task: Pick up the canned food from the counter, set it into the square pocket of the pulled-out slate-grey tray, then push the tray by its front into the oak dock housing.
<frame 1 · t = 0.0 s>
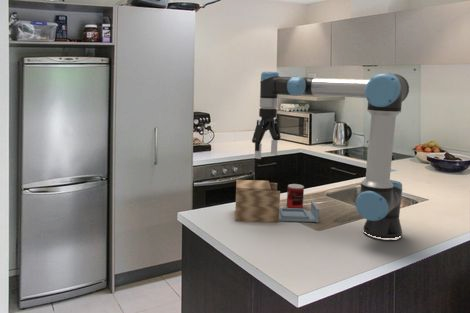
hand: (266, 156, 186), 28 cm above the worktop, fingers open, 13 cm apart
canned food: (294, 208, 208), on the worktop
housing: (257, 216, 192), on the worktop
tray: (295, 210, 192), point 3 cm above the worktop, slide at 16.0 cm
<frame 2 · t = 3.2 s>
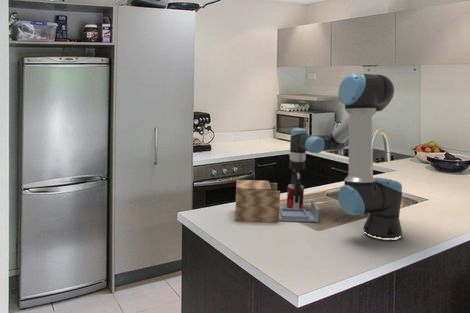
hand: (294, 206, 207), 1 cm above the worktop, fingers closed on canned food, 8 cm apart
canned food: (294, 207, 208), on the worktop, touching gripper
everything else where it was.
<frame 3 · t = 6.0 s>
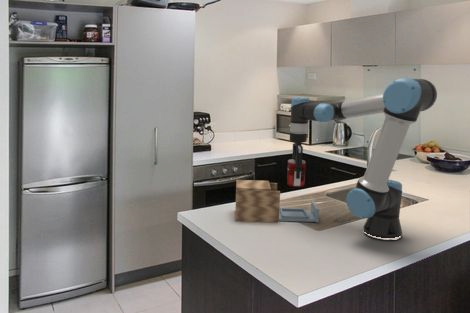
hand: (295, 183, 190), 16 cm above the worktop, fingers closed on canned food, 8 cm apart
canned food: (295, 185, 190), point 15 cm above the worktop, touching gripper
everything else where it was.
when the fingers open (4 cm above the worktop, at t = 8.6 s): canned food drops 2 cm, resting on tray.
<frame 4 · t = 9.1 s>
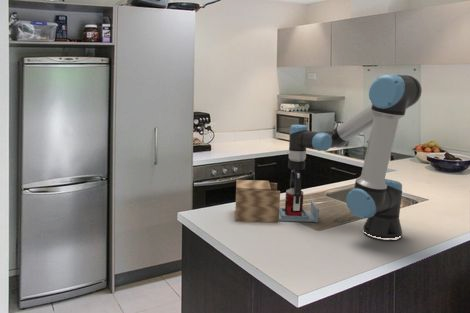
hand: (294, 205, 191), 5 cm above the worktop, fingers open, 13 cm apart
canned food: (293, 215, 192), point 1 cm above the worktop, touching tray
tray: (295, 210, 192), point 3 cm above the worktop, slide at 15.9 cm, touching canned food
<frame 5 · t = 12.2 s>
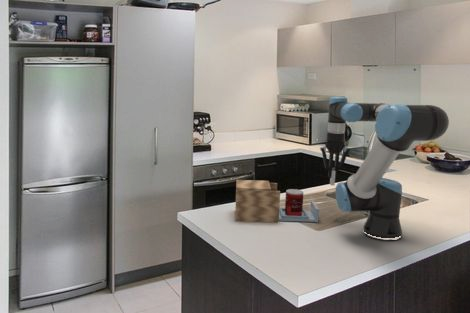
hand: (332, 184, 189), 16 cm above the worktop, fingers closed
nothing on the worktop moved.
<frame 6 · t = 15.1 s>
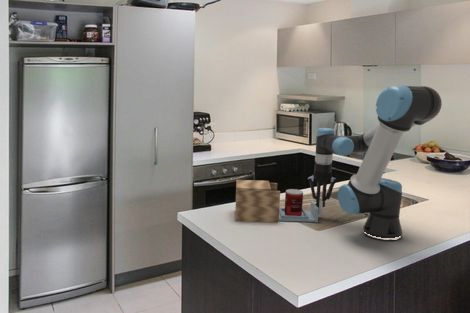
hand: (319, 213, 192), 2 cm above the worktop, fingers closed
tray: (294, 210, 192), point 3 cm above the worktop, slide at 15.7 cm, touching canned food, gripper
everything else where it was.
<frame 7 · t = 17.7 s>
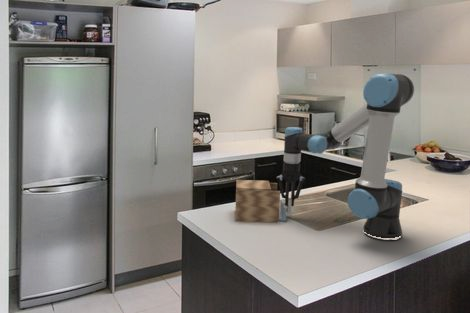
hand: (288, 212, 192), 2 cm above the worktop, fingers closed
canned food: (262, 214, 192), point 1 cm above the worktop, touching tray
tray: (264, 209, 192), point 3 cm above the worktop, slide at 1.7 cm, touching canned food, gripper
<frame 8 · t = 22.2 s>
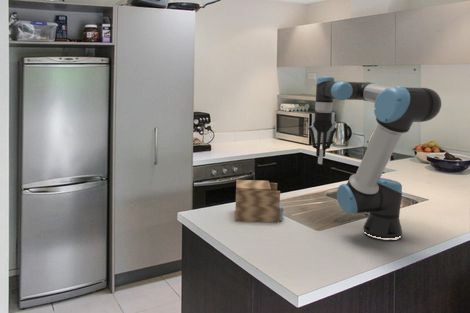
hand: (320, 163, 193), 24 cm above the worktop, fingers closed
canned food: (258, 214, 192), point 1 cm above the worktop, touching tray
tray: (260, 209, 192), point 3 cm above the worktop, slide at 0.0 cm, touching canned food
at the end: tray slide at 0.0 cm; canned food inside the target area on the housing (0.9 cm from its centre), point 1.1 cm above the housing's base; canned food tilted 0° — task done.
